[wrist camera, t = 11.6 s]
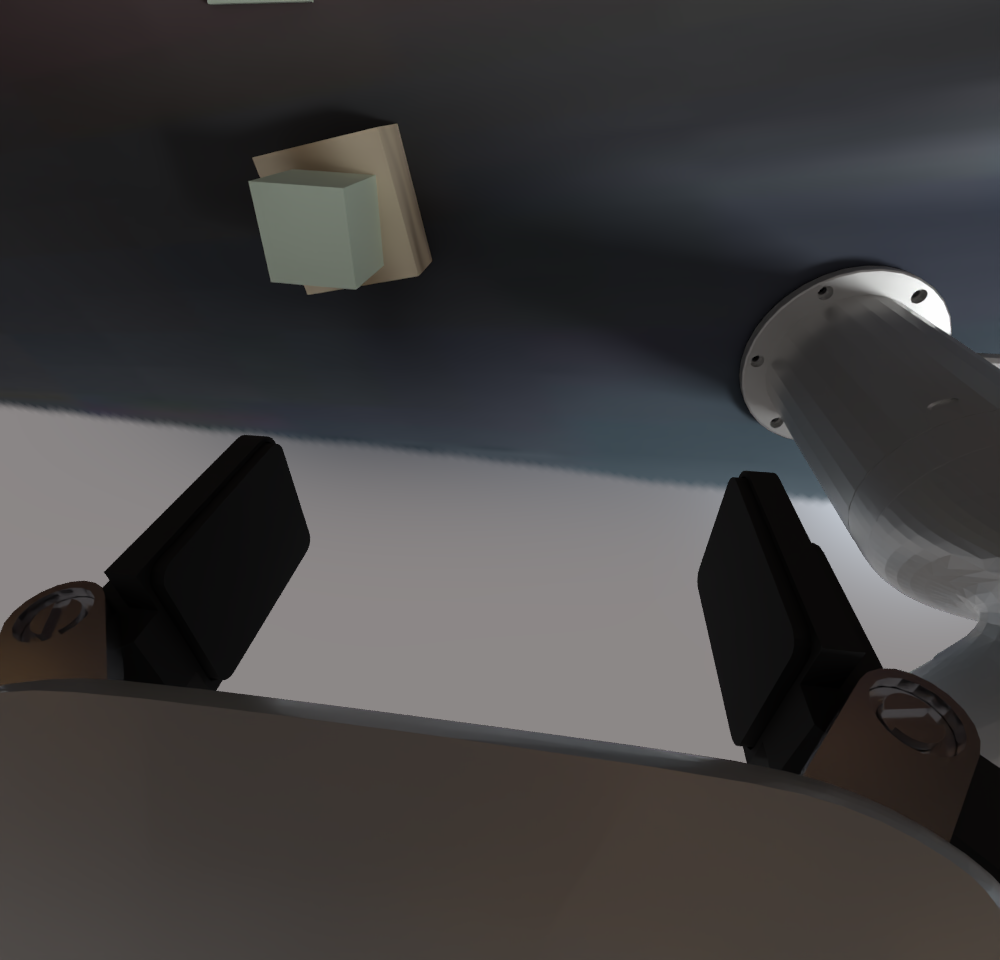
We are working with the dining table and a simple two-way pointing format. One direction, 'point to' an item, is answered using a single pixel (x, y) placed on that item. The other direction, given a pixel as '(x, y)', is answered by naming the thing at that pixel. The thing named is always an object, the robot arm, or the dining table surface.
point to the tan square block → (395, 192)
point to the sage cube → (319, 227)
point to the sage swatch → (253, 1)
